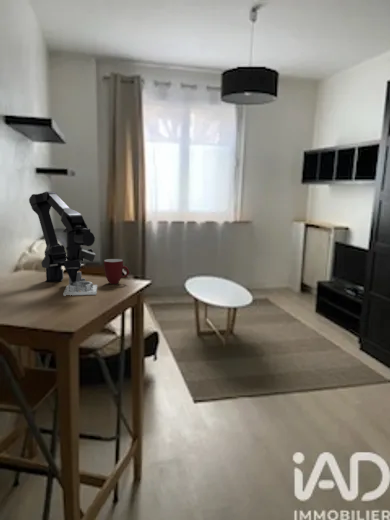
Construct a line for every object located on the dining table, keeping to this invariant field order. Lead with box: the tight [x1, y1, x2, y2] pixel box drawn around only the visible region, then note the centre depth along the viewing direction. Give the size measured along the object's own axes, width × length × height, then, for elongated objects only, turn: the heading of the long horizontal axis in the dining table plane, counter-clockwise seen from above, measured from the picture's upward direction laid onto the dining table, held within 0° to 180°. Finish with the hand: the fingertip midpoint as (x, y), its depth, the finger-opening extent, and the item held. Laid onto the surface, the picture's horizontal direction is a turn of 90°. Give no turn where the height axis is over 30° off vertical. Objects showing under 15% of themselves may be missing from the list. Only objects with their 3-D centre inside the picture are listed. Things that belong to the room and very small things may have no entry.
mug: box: [103, 258, 130, 285], centre depth 174 cm, size 11×8×10 cm
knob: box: [68, 270, 86, 285], centre depth 168 cm, size 6×5×6 cm
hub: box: [63, 280, 98, 297], centre depth 159 cm, size 12×12×3 cm
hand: (75, 281), depth 168 cm, fingers open, 9 cm apart
